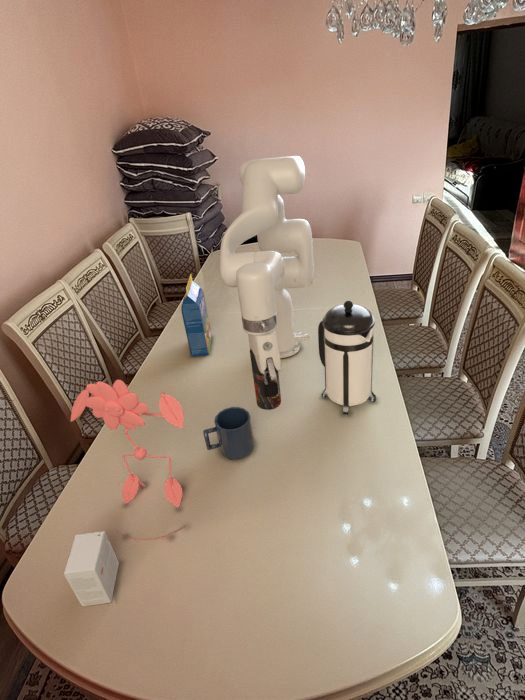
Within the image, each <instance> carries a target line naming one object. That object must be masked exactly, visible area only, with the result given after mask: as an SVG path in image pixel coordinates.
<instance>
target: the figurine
mask: <svg viewBox="0 0 525 700" xmlns="http://www.w3.org/2000/svg"><path fill="white" fill-rule="evenodd" d="M90 394H91V395H92V396H90ZM158 405H159V406H158V407H159V411H160V413H157V412H156V413H155V412H148V411H149V409H150V407H149V406H148V404H146V403H145V402H141V401H139V396H138V394H137V393H135V392H130V390H129V387H128V385H127V384H126V383H125V382H124V381H123V380H122V379H116V380H115V381H114V382H113V384H112V386H111V385H109V384H108V383H106V382H104V381H100V380H98V381H97V382H96V383H87V384H86V388H85V389H83V390H81V392H79V394H78V395H77V397H76V398H75V400H74V402H73V406H72V409H71V414H70V422H74V421H75V420H77V418H79V417H80V416H81V415H82V414H83V412H84V410H85V409H86V408H89V409H92V415H93V416H94V417H95V418H97V419H98V418H99V419H101V418H102V421H103V422H104V424H105V425H106V427H107V428H108V429H109V430H113V431H114V430H117V429H118V428H119V426H120V425H121V426H123V427H124V428H125V430H124V436H125V437H126V439H128V440H129V442H130V444H132V446H133V447H134V451H133V454H122V455H121V456H122V459H123V462H124V464H125V466H126V469H127V471H128V473H129V475H128V476H127V478H126V479H125V480H124V481H123V482H124V483H123V485H122V491H121V493H122V500H123V503H124V505H127V504H128V503H130V502H131V501H132V500H133V499H135V498H136V496H137V494H138V491H139V488H140V486H141V487H143V488H145V486H146V484H144V483H143V482H142V481H140V478H139V477H138V474H135V473H132V472H131V469H130V467H129V465H128V462H127V460H126V458H125V457H134V458H135V459H137V460H140V461H141V460H144V459H145V458H156V459H157V458H158V459H168V470H169V478H168V479H167V480H166V481H165V483H164V495H165V498H166V499H167V501H168V502H169V503H170V504H172V505H173V506H174V507H176V508H180V505H181V503H182V502H181V501H182V499H183V488H182V485H181V483H179V481H178V480H177V479H176V478H173V476H172V463H171V457H170V456H166V455H152V454H150V455H149V454H148V450H147V448H146V447H144V446H137V444H136V443H135V442H134V440H133V439H132V438H131V436H130V434H129V433H128V432H129V430H132V431H134V430H135V429H136V427H142V426H143V427H144V426H145V425H146V421H145V419H144V418H143V417H142V416H149V417H150V416H151V417H163V418H164V419H165V420H166V422H167V423H168V424H170V425H172V426H173V427H174V426H175V427H176V428H180V429H184V428H183V427H184V422H185V421H184V418H185V417H184V416H185V413H184V410H183V408H182V405H181V403H180V402H179V401H178V400H177V399H176V398H175V397H173V396H172V395H171V394H166V393H165V392H160V398H159V401H158ZM140 415H142V416H140ZM117 485H120V483H118V484H117ZM185 527H186V525H184V526H183V527H182V528H180V529H178V530H176V531H173V532H172V533H170V534H167V535H164V536H162V537H160V539H161V540H165V539H167V538H169V536H171V535H173V534H175V533H177V532H179V531H181V530H182V529H184V528H185ZM116 532H117V533H119V534H120V535H122V536H124V537H126V538H128V539H131V540H134V538H133V537H128V536H127V535H124V534H122V533H121V532H119V531H118V530H117V531H116ZM158 539H159V537H156V538H151V539H149V538H148V539H147V541H152V540H158ZM135 540H137V541H135V543H138V541H141V539H137V538H135Z"/></svg>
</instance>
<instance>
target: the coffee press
mask: <svg viewBox="0 0 525 700" xmlns="http://www.w3.org/2000/svg"><path fill="white" fill-rule="evenodd" d="M375 323H376V319H375V316H374V315H373V314H372V312H371V311H370V309H368V308H367V307H365V306H362V305H360V304H355V303H353V302H352V301H350V300H346V301H344V303H343V304H339V305H336V306H333V307H331V308H329V310H328V311H327V312H326V313H325V315H324V316H323V318H322V320H321V321H320V322H319V324H318V328H317V339H318V355H319V360H320V363H321V365H322V366H323V368H324V384H325V386H324V387H325V388H324V389H323V390H322V391H321V397H322V398H323V399H326V398H329V400H331V401H332V402H333V403H335V404H337V405H340V406H343V407H342V413H343V414H342V415H347V416H348V415H349V413H350V407H354V406H359V405H361V404H364V403H365V402H366V401H367V400H369V401H370V402H372V403H375V402H376V401H377V395H376V394H375V393H374V391H373V377H372V371H373V367H374V366H373V364H374V363H373V362H374V345H373V343H374V335H375V334H374V333H375V332H374V326H375V325H376V324H375ZM325 392H326V394H325ZM371 396H372V397H371Z"/></svg>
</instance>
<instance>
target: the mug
mask: <svg viewBox="0 0 525 700" xmlns="http://www.w3.org/2000/svg"><path fill="white" fill-rule="evenodd" d="M213 422H214V426H213V427H210V428H206V429H204V430H203V431H202V432H203V438H204V442H205V447H206V450H207V451H211V450H214V449H215V450H216V449H219V451H220V454H221V455H222V456H223V457H224V458H225V459H228V460H232V461H237V460H243V459H246V458H247V457H249V456H250V455H251V454H252V453H253V451H254V449H255V439H254V432H253V425H252V418H251V415H250V412H249V411H248V410H247V409H245V408H243V407H239V406H231V407H227V408H223V409H222V410H221V411H218V413H217V414H216V415H215V417H214V420H213ZM212 433H216V437H217V442H216V443H214V444H211V440H210V435H209V434H212Z"/></svg>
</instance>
